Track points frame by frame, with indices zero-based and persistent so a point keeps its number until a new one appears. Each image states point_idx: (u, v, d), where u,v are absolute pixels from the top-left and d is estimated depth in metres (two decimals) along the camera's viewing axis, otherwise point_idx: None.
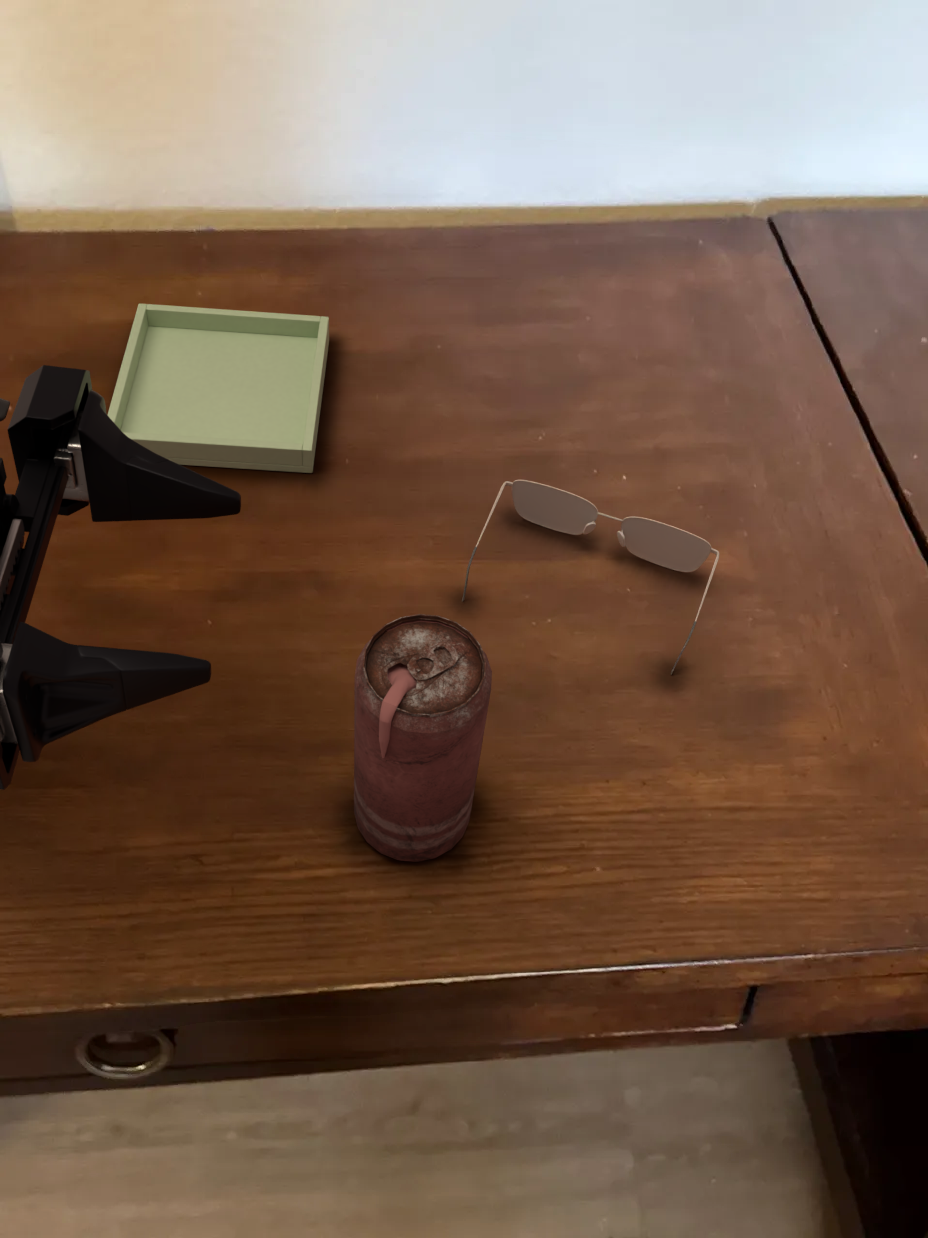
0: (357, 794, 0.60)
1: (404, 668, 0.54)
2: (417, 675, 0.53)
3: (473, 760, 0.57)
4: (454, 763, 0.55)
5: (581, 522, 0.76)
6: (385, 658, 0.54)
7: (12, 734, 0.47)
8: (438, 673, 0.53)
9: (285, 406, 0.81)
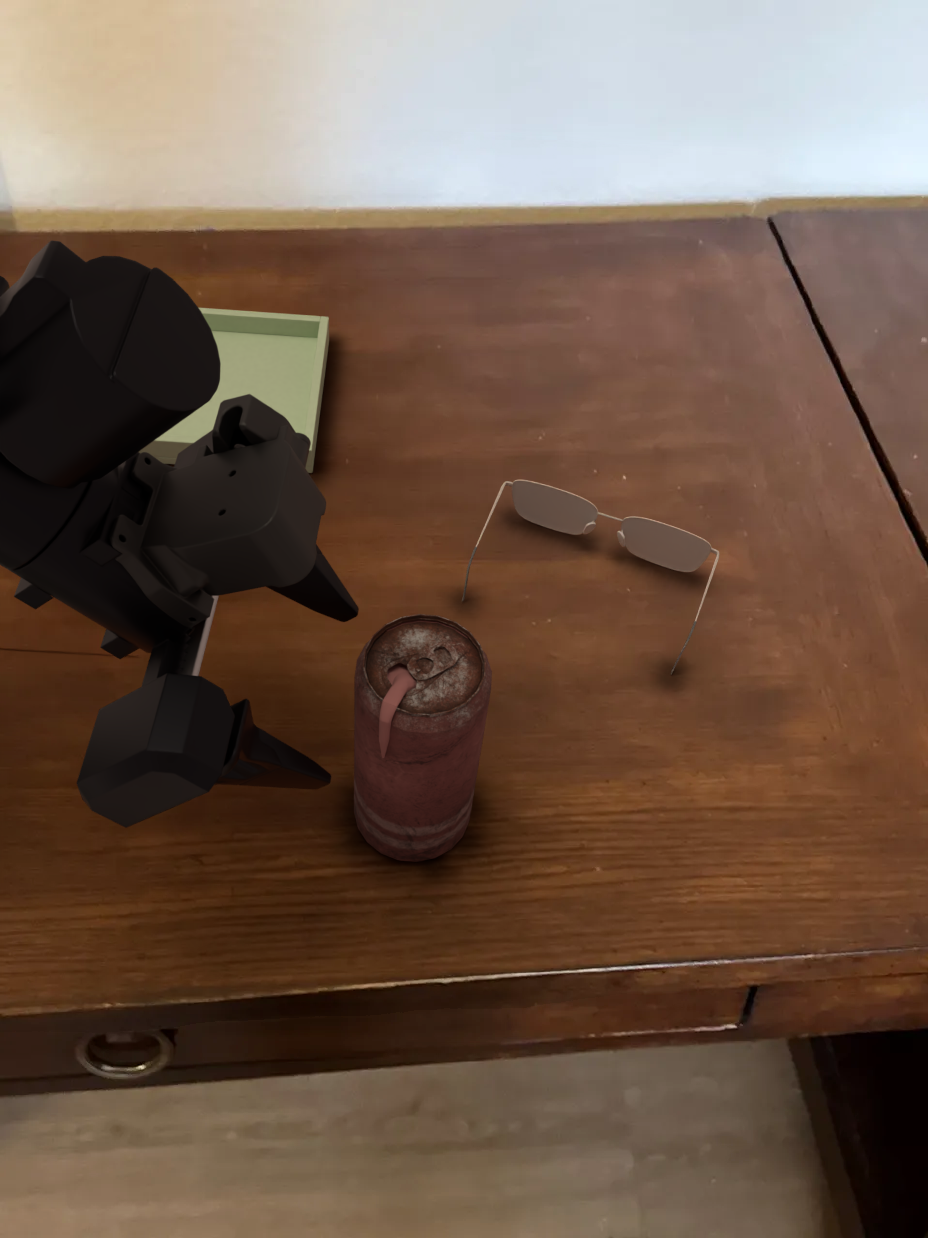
0: (357, 794, 0.60)
1: (404, 668, 0.54)
2: (417, 675, 0.53)
3: (473, 760, 0.57)
4: (454, 763, 0.55)
5: (581, 522, 0.76)
6: (385, 658, 0.54)
7: None
8: (438, 673, 0.53)
9: (285, 406, 0.81)
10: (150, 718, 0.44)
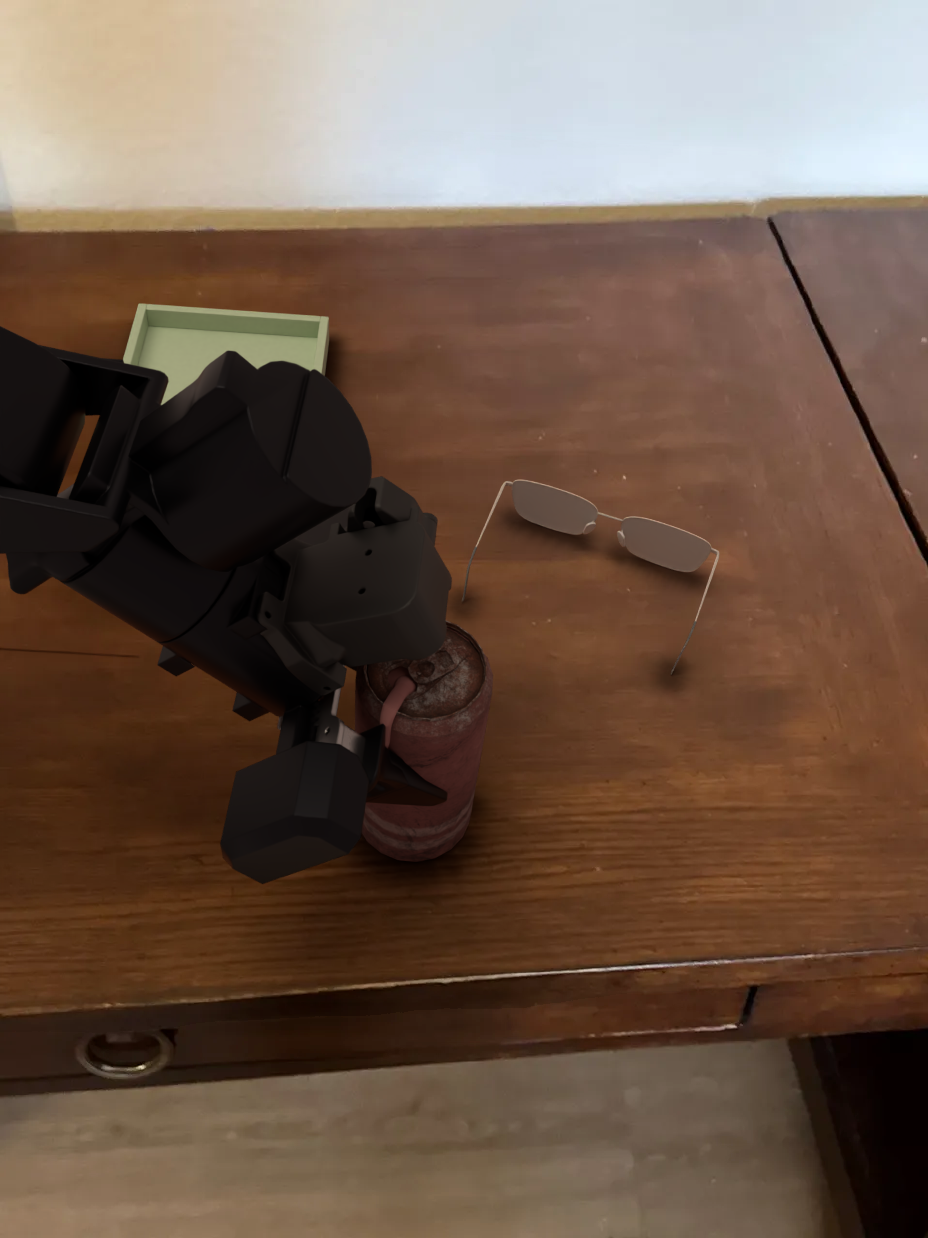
0: None
1: (405, 671, 0.54)
2: (418, 678, 0.53)
3: (473, 763, 0.57)
4: (454, 766, 0.55)
5: (581, 522, 0.76)
6: (386, 661, 0.53)
7: None
8: (439, 677, 0.53)
9: None
10: (294, 784, 0.47)
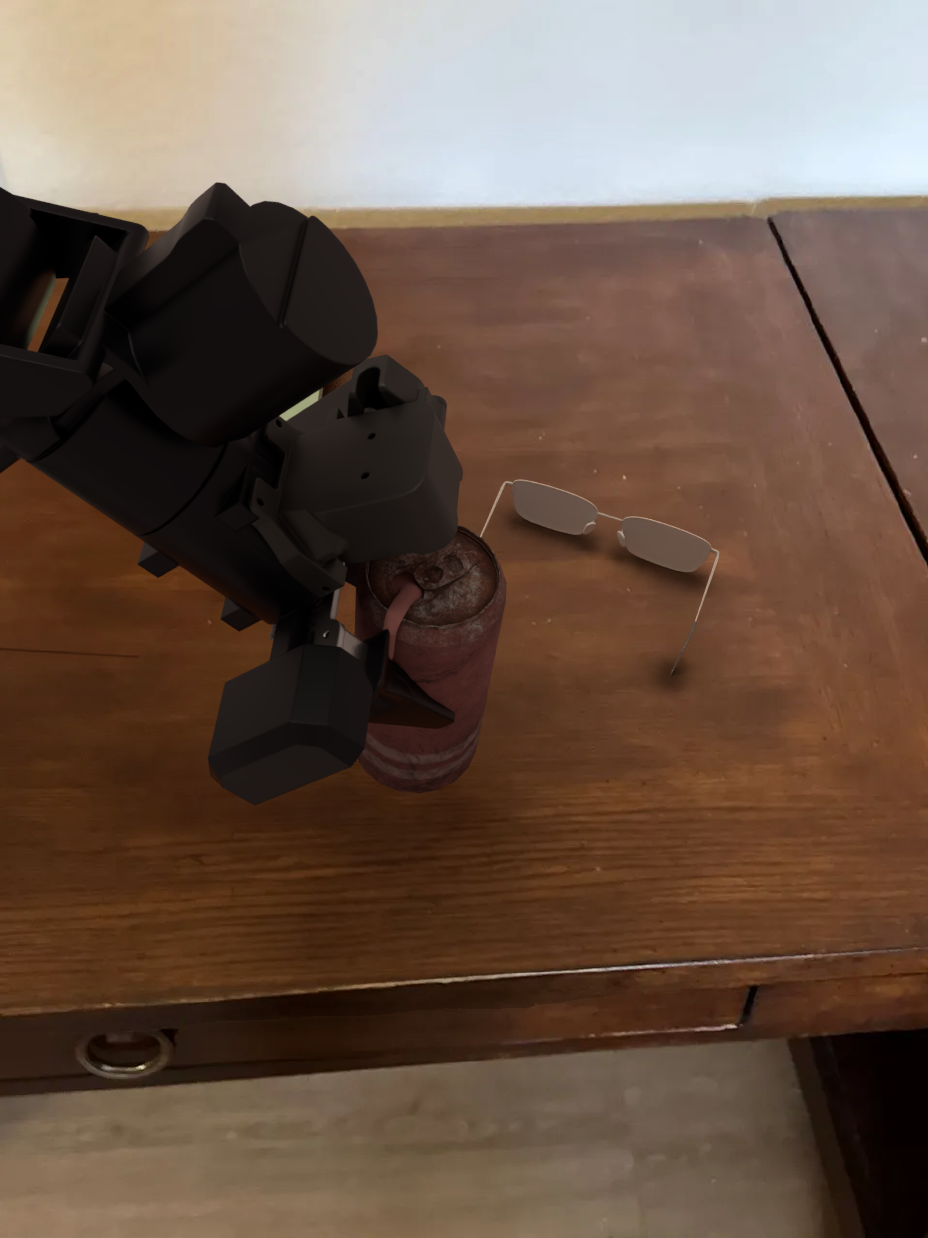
0: None
1: (410, 577, 0.49)
2: (425, 584, 0.48)
3: (483, 681, 0.52)
4: (463, 683, 0.50)
5: (581, 522, 0.76)
6: (390, 566, 0.49)
7: None
8: (448, 582, 0.48)
9: None
10: (290, 690, 0.42)
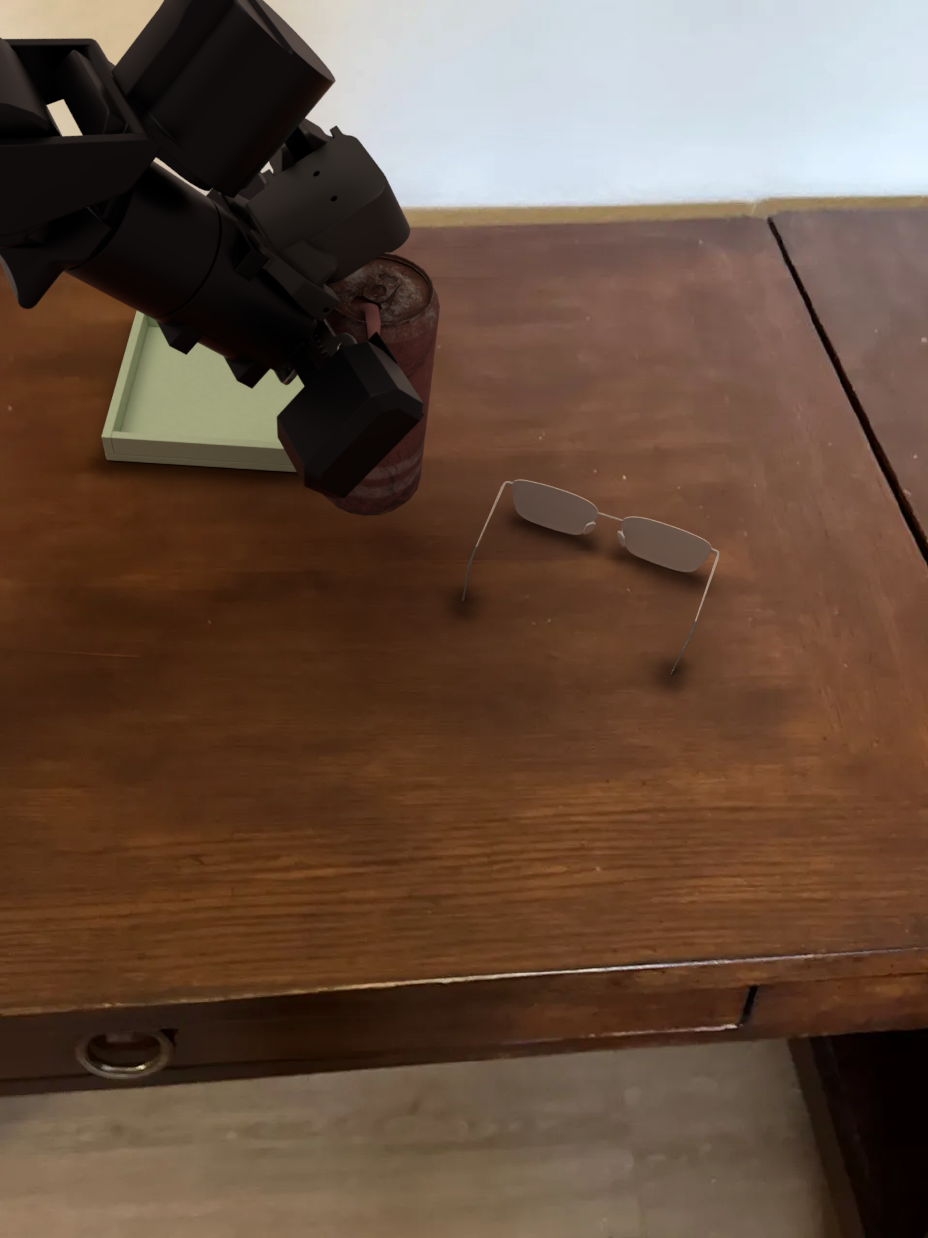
0: None
1: (360, 300, 0.59)
2: (377, 299, 0.59)
3: (431, 376, 0.63)
4: (426, 375, 0.62)
5: (581, 522, 0.76)
6: (343, 296, 0.59)
7: None
8: (393, 292, 0.59)
9: (285, 406, 0.81)
10: (352, 379, 0.52)
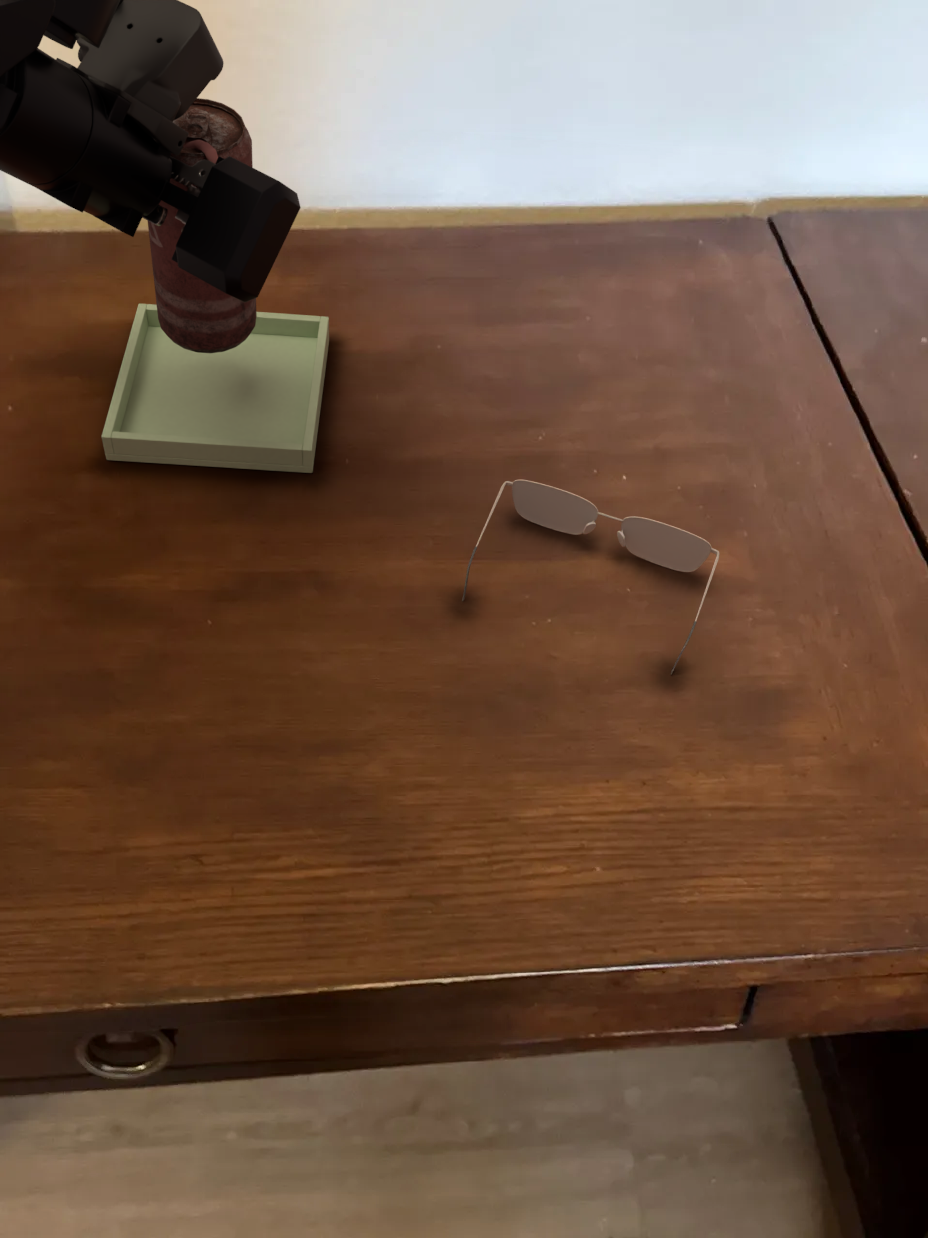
0: (188, 305, 0.73)
1: None
2: (197, 135, 0.66)
3: None
4: None
5: (581, 522, 0.76)
6: None
7: None
8: (207, 126, 0.67)
9: (285, 406, 0.81)
10: (238, 186, 0.60)
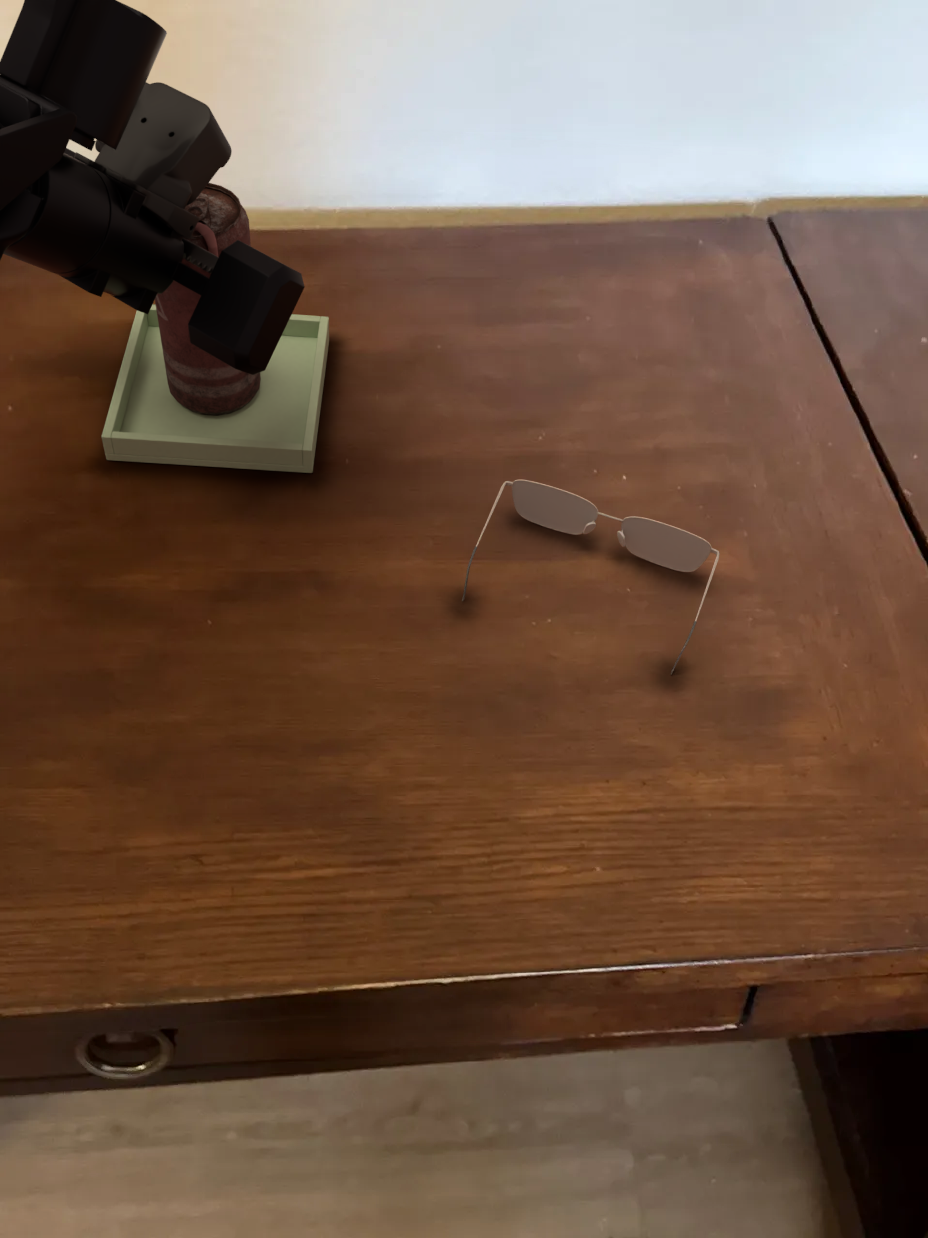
0: (194, 373, 0.77)
1: None
2: None
3: None
4: None
5: (581, 522, 0.76)
6: None
7: None
8: (206, 209, 0.71)
9: (285, 406, 0.81)
10: (246, 270, 0.65)
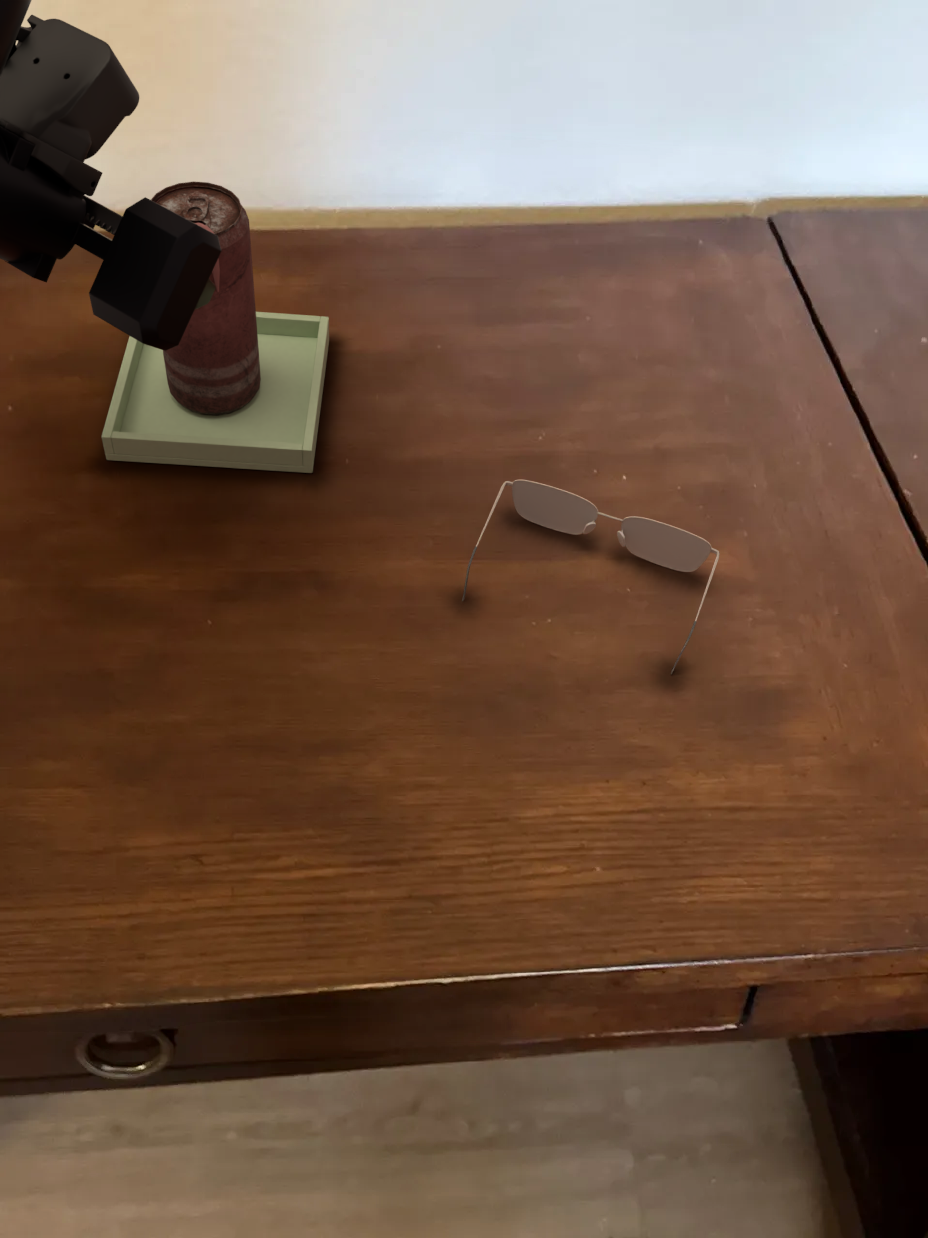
0: (194, 373, 0.77)
1: None
2: (197, 218, 0.71)
3: None
4: (251, 271, 0.74)
5: (581, 522, 0.76)
6: None
7: None
8: (207, 209, 0.71)
9: (285, 406, 0.81)
10: (152, 231, 0.57)
